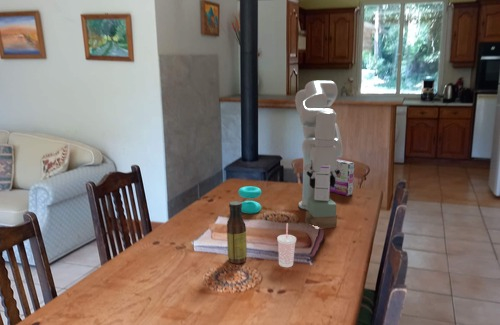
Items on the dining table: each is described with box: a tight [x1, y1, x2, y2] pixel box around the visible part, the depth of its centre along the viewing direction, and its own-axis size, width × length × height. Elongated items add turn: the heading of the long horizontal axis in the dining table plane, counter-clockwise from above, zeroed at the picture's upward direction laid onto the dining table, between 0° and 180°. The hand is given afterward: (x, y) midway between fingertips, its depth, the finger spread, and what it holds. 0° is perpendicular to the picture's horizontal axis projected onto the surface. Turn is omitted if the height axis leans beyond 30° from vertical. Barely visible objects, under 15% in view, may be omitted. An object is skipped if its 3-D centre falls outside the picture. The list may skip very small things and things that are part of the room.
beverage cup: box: [276, 222, 297, 268], centre depth 141 cm, size 6×6×14 cm
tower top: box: [306, 197, 337, 217], centre depth 176 cm, size 9×9×5 cm
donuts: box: [238, 185, 262, 214], centre depth 192 cm, size 10×10×10 cm
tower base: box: [304, 210, 338, 230], centre depth 177 cm, size 9×9×5 cm
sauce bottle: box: [226, 200, 248, 265], centre depth 142 cm, size 7×6×20 cm
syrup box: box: [314, 165, 331, 201], centre depth 174 cm, size 6×6×14 cm
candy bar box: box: [329, 158, 356, 197], centre depth 218 cm, size 11×5×16 cm, turn 43°
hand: (322, 186), depth 174 cm, fingers closed on syrup box, 7 cm apart
